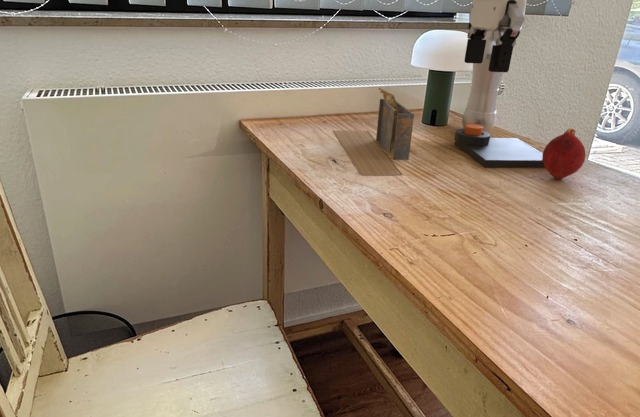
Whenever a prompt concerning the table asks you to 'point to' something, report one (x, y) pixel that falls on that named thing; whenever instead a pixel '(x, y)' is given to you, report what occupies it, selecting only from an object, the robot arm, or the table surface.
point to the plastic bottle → (483, 91)
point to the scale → (498, 151)
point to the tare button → (473, 129)
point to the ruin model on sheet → (381, 140)
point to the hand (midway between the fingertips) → (484, 67)
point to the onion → (564, 155)
